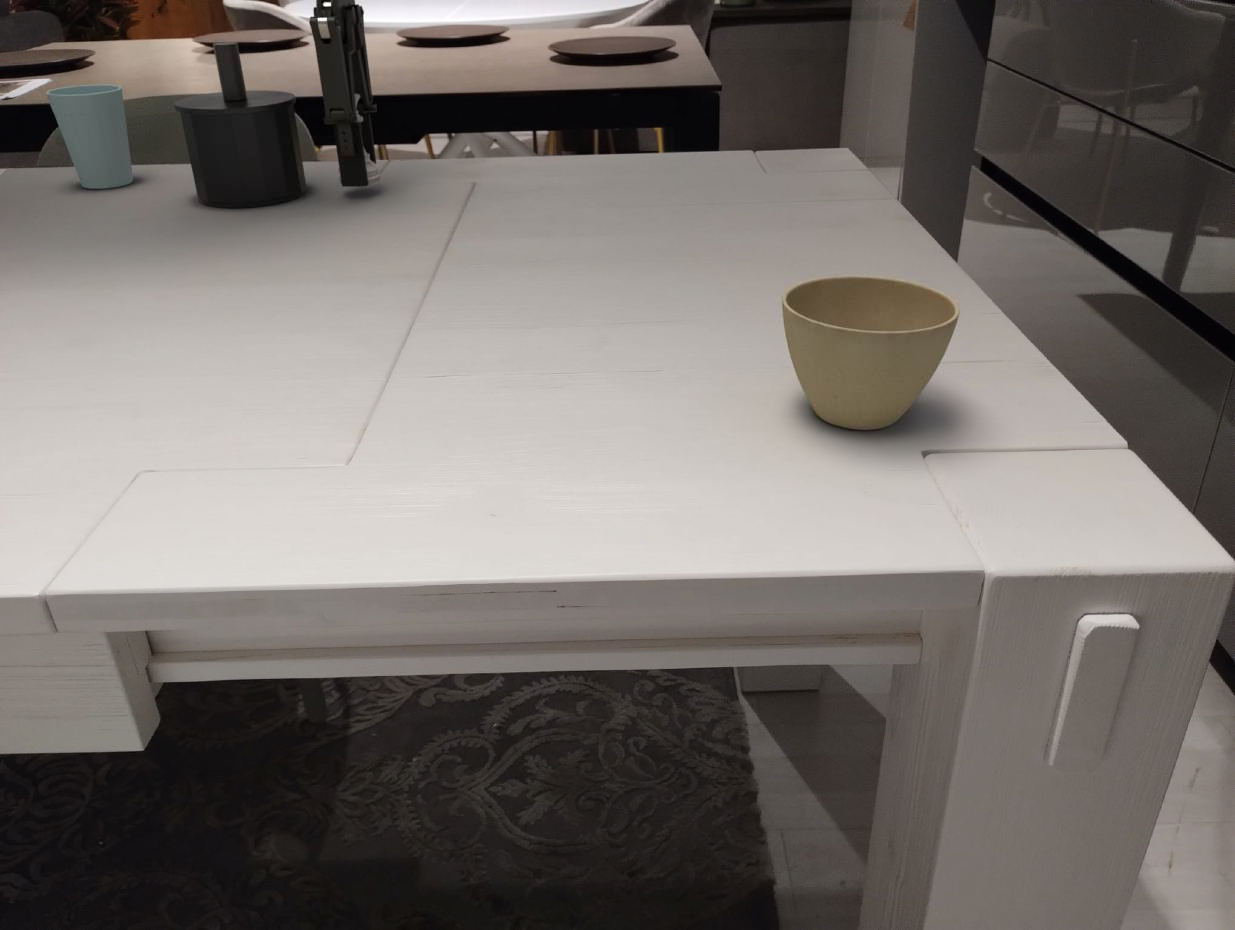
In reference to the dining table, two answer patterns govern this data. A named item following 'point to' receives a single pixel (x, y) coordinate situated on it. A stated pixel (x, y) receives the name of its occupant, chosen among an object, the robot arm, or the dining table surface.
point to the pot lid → (233, 90)
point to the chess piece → (366, 158)
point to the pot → (245, 158)
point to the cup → (94, 133)
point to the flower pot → (866, 345)
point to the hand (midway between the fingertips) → (360, 179)
